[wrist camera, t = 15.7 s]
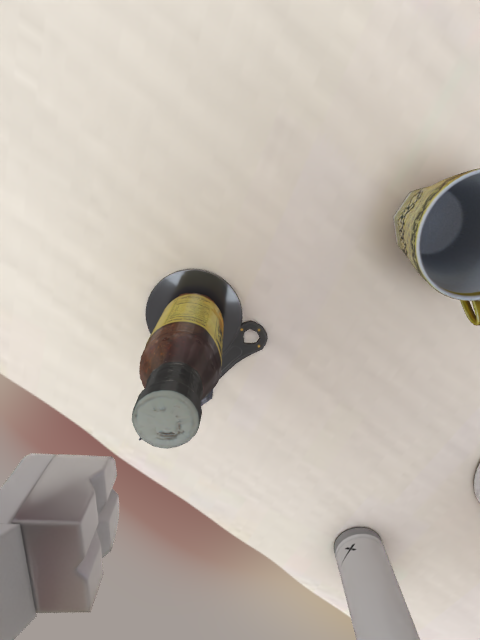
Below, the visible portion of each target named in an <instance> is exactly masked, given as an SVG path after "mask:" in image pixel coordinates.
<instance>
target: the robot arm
mask: <svg viewBox="0 0 480 640" xmlns="http://www.w3.org/2000/svg"><path fill="white" fill-rule="evenodd" d="M116 476H117V472H116V463H115V460H114V459H113V457H106V456H105V457H104V456H85V455H63V454H58V455H55V454H29V455H27V456H25V457H24V458H23V459H22V460H21V461H20V463H19V464H18V465H17V467H16V468H15V469H14V471H13V472H12V473H11V475H10V476H9V477H8V479H7V480H6V481H5V483H4V484H3V485H2V487H1V488H0V640H14V639H15V638H16V637H17V636H18V635H19V634H20V633H21V631H23V630H24V628H26V626H28V624H29V623H30V622H31V621H32V620H33V619H34V618H35V617H36V613H59V612H60V613H61V612H91V609H92V606H93V603H94V600H95V597H96V594H97V591H98V588H99V585H100V582H101V580H102V576H103V564H102V558H103V557H104V556H106V555H107V554H108V553H109V552H110V551H111V549H112V546H113V543H114V540H115V536H116V531H117V525H118V518H119V496H118V494H117V493H116V492H115V491H114V490H113V489H112V487H113V484H114V482H115V479H116ZM474 491H475V495H476V498H477V500H478V501H479V503H480V464H479V466H478V468H477V470H476V473H475V478H474Z"/></svg>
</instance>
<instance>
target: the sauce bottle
mask: <svg viewBox="0 0 480 640" xmlns="http://www.w3.org/2000/svg"><path fill="white" fill-rule="evenodd" d="M223 328H224V323H223V317H222V314H221V312H220V310H219V308H218V307H217V305H216V304H215V303H214V302H213V301H212V300H211V299H210V298H209V297H208V296H205V295H202V294H197V293H185V294H181V295H180V296H179V297H177V298H175V299H174V300H173V301H171V302H170V303H169V304H168V305H167V307H166V308H165V310H164V312H163V314H162V315H161V317H160V319H159V321H158V323H157V325H156V327H155V328H154V330H153V332H152V334H151V336H150V338H149V340H148V342H147V344H146V347H145V350H144V351H143V354H142V356H141V361H140V371H139V372H140V379H141V380H142V384H143V386H144V388H145V389H144V390H143V391H142V392H141V394H140V395H139V397H138V399H137V402H136V404H135V407H134V409H133V413H132V422H133V426H134V428H135V430H136V432H137V433H138V435H139V436H140V437H141V438H142V439H143V440H144V441H145V442H147V443H149V444H151V445H152V446H155V447H159V448H173V447H177V446H180V445H183V444H185V443H186V442H188V441H189V440H190V439H191V438H192V437H193V436H195V434H196V432H197V430H198V428H199V424H200V419H201V415H202V410H201V403H200V401H201V400H202V399H203V398H204V397H205V396H206V395H207V394H208V393H209V392H210V391H211V390H212V389H213V388H214V387H215V386H216V384H217V382H218V380H219V378H220V374H221V366H222V347H223Z"/></svg>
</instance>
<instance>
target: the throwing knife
mask: <svg viewBox="0 0 480 640" xmlns="http://www.w3.org/2000/svg"><path fill="white" fill-rule="evenodd" d="M239 328H240V331H239V334H238V336H237V338H236V339H235V341H234V342H233V340H234V337H235V335H236V334H237V332H238V330H239ZM249 329H252V330H254V331H256V332H257V333H258V335H259V337H260V338H259V340H258V341H257V343H244V339H243V336H244V332H245V331H247V330H249ZM235 335H234V337H233V338H232V340H231V342H230V344H229V346H228V347H227V348H226V349H225V351H224V352H223V353H222V366H221V374H220V378H221V377H222V376H223V375H224V374H225V373H226V372H227V371H228V370H229V369H231V368H232V367H233V366H234V365H235V364H236V363H238V362H239V361H241V360H242V359H244V358H245V357H247V356H249V355H251V354H253V353H255V352H257V351H259V350H262V349H263V347H264V346H265V345H266V342H267V334H266V332H265V330H264V329H263V327H262V326H261V325H259V324H257V323H256V322H253V321H248V322H244V323H242V324H241V326H240V327H238V329H237V331H236V333H235ZM232 342H233V344H232ZM231 344H232V345H231ZM220 378H219V379H220ZM212 393H213V389H212V390H211V391H210V392H209V393H208V394H207V395H206V396H205V397H204V398H203V399H202V400H201V401H200V403H201V406H202V405H203V404H205V403H206V402H207V401H209V400H210V399H212ZM141 439H142V438H141V437H140V439H139V440H141Z"/></svg>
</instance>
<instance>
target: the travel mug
mask: <svg viewBox="0 0 480 640" xmlns="http://www.w3.org/2000/svg"><path fill="white" fill-rule="evenodd" d="M334 552H335V556H336V560H337V564H338V568H339V572H340V576H341V580H342V584H343V588H344V592H345V596H346V600H347V604H348V608H349V612H350V616H351V620H352V624H353V627H354V632H355V635H356V639H357V640H420V638H419V636H418V633H417V631H416V628H415V625H414V623H413V620H412V618H411V615H410V612H409V610H408V607H407V605H406V602H405V600H404V597H403V594H402V592H401V589H400V587H399V584H398V581H397V579H396V576H395V574H394V571H393V569H392V566H391V563H390V561H389V558H388V556H387V553H386V550H385V548H384V545H383V543H382V540H381V538H380V536H379V535H378V534H377V533H376V532H374V531H373V530H370V529H368V528H353V529H349V530H347V531H345V532H343V533H342V534H341V535H340V536H339V537H338V538H337V539H336V541H335V544H334Z"/></svg>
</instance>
